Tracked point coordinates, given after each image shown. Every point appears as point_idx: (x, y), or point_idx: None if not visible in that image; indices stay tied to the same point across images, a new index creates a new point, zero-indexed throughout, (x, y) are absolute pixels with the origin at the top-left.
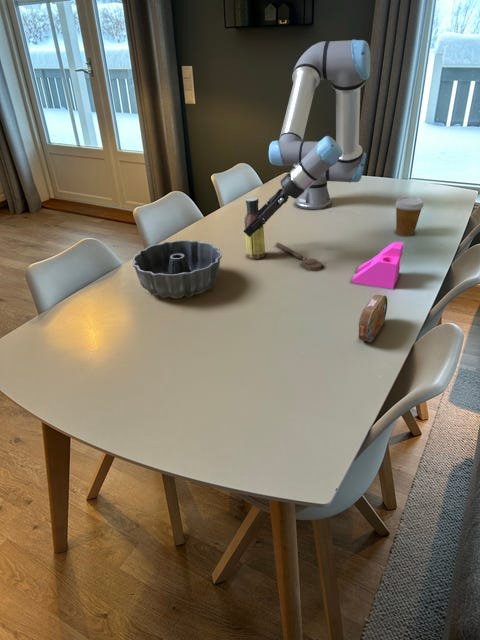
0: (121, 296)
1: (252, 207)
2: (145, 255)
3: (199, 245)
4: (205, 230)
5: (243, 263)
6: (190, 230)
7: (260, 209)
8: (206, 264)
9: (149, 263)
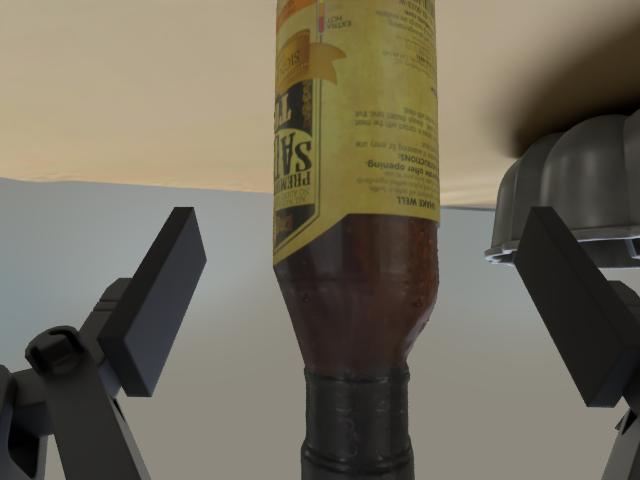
0: None
1: (406, 425)
2: None
3: None
4: (132, 166)
5: (485, 14)
6: (163, 182)
7: (176, 329)
8: (565, 148)
9: None
